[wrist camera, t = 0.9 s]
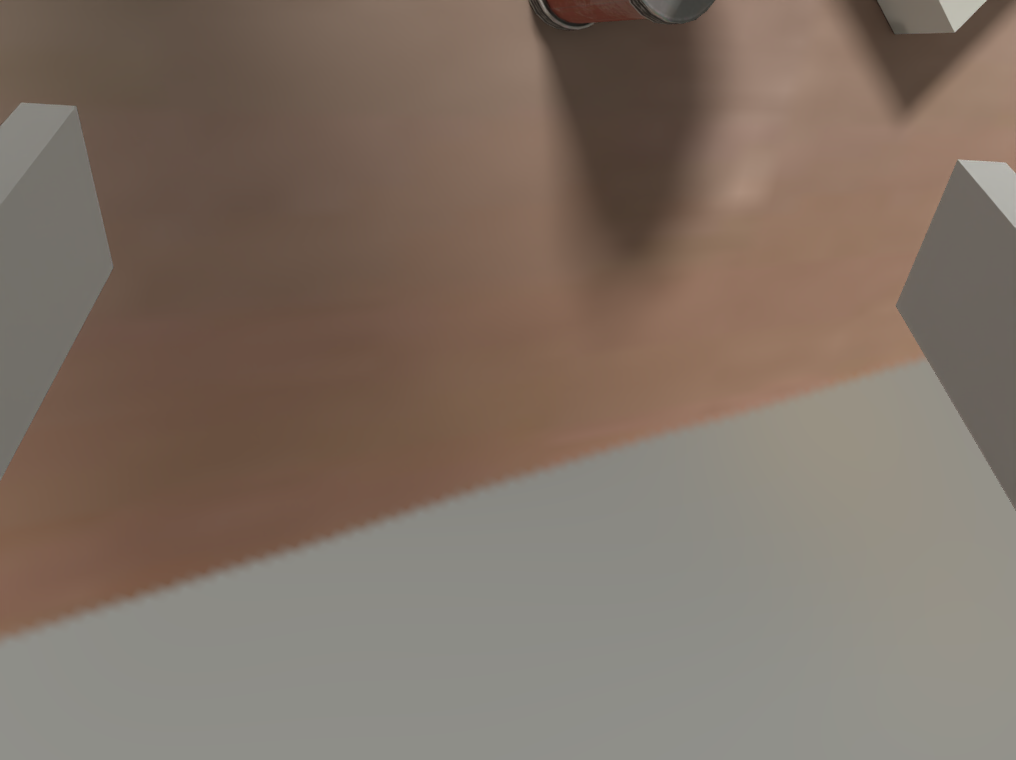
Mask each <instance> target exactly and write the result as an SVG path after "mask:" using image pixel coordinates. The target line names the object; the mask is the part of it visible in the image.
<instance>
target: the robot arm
mask: <svg viewBox="0 0 1016 760" xmlns="http://www.w3.org/2000/svg"><path fill="white" fill-rule="evenodd" d="M112 269H113V263H112V259H111V254H110V250H109V246H108V241H107V237H106V233H105V228H104V224H103V220H102V215H101V211H100V207H99V202H98V198H97V194H96V189H95V185H94V181H93V176H92V172H91V168H90V163H89V159H88V154H87V150H86V146H85V141H84V137H83V133H82V128H81V124H80V120H79V115H78V111H77V107H76V106H68V105H52V104H36V103H20V104H19V106H18V107H17V108H16V109H15V110H14V111H13V112H12V114H11V115H10V116H9V117H8V118H7V119H6V120H5V121H4V123H3V124H2V125H1V126H0V480H1V478H2V476H3V475H4V473H5V471H6V469H7V467H8V465H9V463H10V461H11V460H12V458H13V456H14V454H15V452H16V450H17V448H18V446H19V444H20V443H21V441H22V439H23V437H24V435H25V433H26V431H27V429H28V428H29V426H30V424H31V422H32V420H33V418H34V416H35V414H36V412H37V411H38V409H39V407H40V405H41V403H42V401H43V399H44V397H45V395H46V394H47V392H48V390H49V388H50V386H51V384H52V382H53V380H54V379H55V377H56V375H57V373H58V371H59V369H60V367H61V365H62V363H63V362H64V360H65V358H66V356H67V354H68V352H69V350H70V348H71V347H72V345H73V343H74V341H75V339H76V337H77V335H78V333H79V331H80V330H81V328H82V326H83V324H84V322H85V320H86V318H87V316H88V315H89V313H90V311H91V309H92V307H93V305H94V303H95V301H96V299H97V298H98V296H99V294H100V292H101V290H102V288H103V286H104V284H105V283H106V281H107V279H108V277H109V275H110V273H111V271H112ZM896 307H897V309H898V311H899V312H900V314H901V316H902V317H903V319H904V321H905V322H906V324H907V326H908V328H909V329H910V331H911V333H912V334H913V336H914V338H915V340H916V341H917V343H918V345H919V346H920V348H921V350H922V351H923V353H924V355H925V357H926V358H927V360H928V362H929V363H930V365H931V367H932V368H933V370H934V372H935V374H936V375H937V377H938V378H939V380H940V382H941V384H942V385H943V387H944V389H945V391H946V392H947V394H948V396H949V398H950V399H951V401H952V402H953V404H954V406H955V408H956V409H957V411H958V413H959V414H960V416H961V418H962V420H963V421H964V423H965V425H966V426H967V428H968V430H969V432H970V433H971V435H972V437H973V438H974V440H975V442H976V444H977V445H978V447H979V449H980V450H981V452H982V454H983V455H984V457H985V459H986V461H987V462H988V464H989V465H990V467H991V469H992V471H993V473H994V474H995V476H996V478H997V479H998V481H999V483H1000V484H1001V486H1002V488H1003V490H1004V491H1005V493H1006V495H1007V496H1008V498H1009V500H1010V502H1011V503H1012V505H1013V507H1014V508H1015V510H1016V173H1015V172H1014V171H1013V170H1012V169H1011V168H1010V167H1009V166H1008V165H1007V164H1006V163H1005V162H988V161H972V160H957V162H956V165H955V167H954V170H953V172H952V174H951V177H950V179H949V181H948V184H947V186H946V188H945V191H944V193H943V196H942V198H941V200H940V203H939V205H938V207H937V210H936V212H935V214H934V217H933V219H932V221H931V224H930V226H929V229H928V231H927V233H926V236H925V238H924V240H923V243H922V245H921V247H920V250H919V252H918V255H917V257H916V259H915V262H914V264H913V266H912V269H911V271H910V273H909V276H908V278H907V281H906V283H905V285H904V288H903V290H902V292H901V295H900V297H899V299H898V302H897V304H896Z"/></svg>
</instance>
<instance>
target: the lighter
mask: <svg viewBox="0 0 1016 760" xmlns="http://www.w3.org/2000/svg"><path fill="white" fill-rule="evenodd" d="M714 1H715V0H529V2H530V4H531V6H532V7H533V9H534V11H535V13H536V14H537V15H538V16H539V17H540V18H541V19H542V20H543V21H544V22H545V23H546V24H548V25H550V26H552V27H554V28H556V29H563V30H579V29H583V28H586V27H590V26H591V25H593V24H594V23H595V22H608V21H622V20H636V19H649V20H650V21H652V22H654V23H661V24H682V23H686V22H689V21H693V20H696V19H697V18H698V17H700V16H701V15H702V14H703V13H705V12H706V11H707V10H708V8H709V7H710V6H711V5H712V4H713V2H714Z"/></svg>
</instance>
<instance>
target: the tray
mask: <svg viewBox="0 0 1016 760" xmlns="http://www.w3.org/2000/svg"><path fill="white" fill-rule="evenodd" d="M877 1H878V3H879V5H880V7H881V9H882V11H883V13H884V15H885V17H886V19H887V20H888V22H889V24H890V26H891V28H892V30H893V32H894V34H925V33H955V32H956V31H957V30H958V29H959V28H960V27H961V26H962V25H963V24H964V23H965V22H966V21H967V20H968V19H969V18H970V17H971V16H972V15H973V14H974V13H975V12H976V11H977V10H978V9H979V8H980V7H981V6H982V5H983V4H984V3H985V2H986V1H987V0H877Z"/></svg>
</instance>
